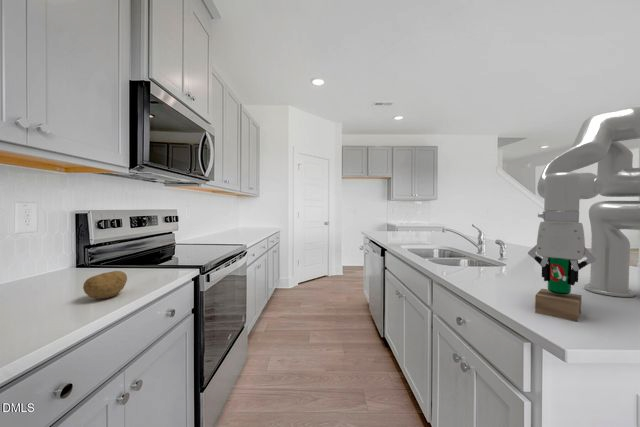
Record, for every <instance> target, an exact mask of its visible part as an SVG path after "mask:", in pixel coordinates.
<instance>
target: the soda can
mask: <svg viewBox="0 0 640 427" xmlns="http://www.w3.org/2000/svg"><path fill="white" fill-rule="evenodd" d="M547 264H548V281H547V289H548V290H549V291H550V292H553V293H557V294H569V293H571V292H572V285H570V275H571V270H572V268H573V267H572V264H571V261H570V260H566V259H560V258H549V259H548V263H547Z"/></svg>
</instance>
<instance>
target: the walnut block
mask: <svg viewBox="0 0 640 427" xmlns="http://www.w3.org/2000/svg"><path fill="white" fill-rule="evenodd" d="M582 296H583V295H582V294H576V293H571V292H570V293H569V294H557V293H553V292H550V291H549V290H548V288H547V289H546V288H541V289H540V290H539V291H537V293H536V294H535V300H534V303H535V305H534V313H535V314H540V315H546V316H549V317H554V318H558V319H564V320H568V321H572V322H579V319H580V317H581V314H582V301H583V298H582Z"/></svg>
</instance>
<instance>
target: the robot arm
mask: <svg viewBox="0 0 640 427" xmlns="http://www.w3.org/2000/svg"><path fill="white" fill-rule="evenodd" d="M637 139H640V107H639V106H634V107H627V108H622V109H616V110H610V111H607V112H601V113H597V114H594V115H591V116H589V117H587V118H586V119H585V120H584V121H583V122H582V125H581V127H580V128H579V131H578V132H577V135H576V138H575V140H574V142H573V144H572V146H571V147H570V148H568V149H567V150H565V151H563V152H562V153H560V154H559V155H557V156H556V157H555V158H552V160H551V161H549V162H548V163H547V164H546V165H545V166H544V169H543V171H542V172H541V175H540V177H539V179H538V182H537V187H536V188H537V193H538V195H539V197H541V198H542V199H544V200H543V201H544V208H543V209H544V210H543V211H542V212H538V213H537V217H538V218H541V219H543V221H540V222H539V225H538V231H537V238H536V244H535V245H534V246H533V247H532V248H531V249H530V250H529V251H528V252H527V255H529V256H530V257H531V258H532V259H533V260H535V261H536V262H537V263H538V264H539V266H541V278H543V281H544V282H548V259H549V258H560V259H566V260H570V261H571V264H572V270H571V275H570V285H571V286H575V284H576V283H579V271H580V270H582V269H583V268H585V267H587V266H588V265H590V273H589V274H590V276H589V277H590V278H589V279H590V280H589V283H586V284H584V285H583V288H584V290H586V291H588V292H591V293H595V294H599V295H606V296H610V297H620V298H633V297H635V296H636V292H635V291H634V290H632V289H630V288H629V284H630V282H629V281H630V262H631V261H630V259H631V256H630V255H631V242H630V240H629V238H628V237H627V236H626V234H624V233H623V232H622V230H629V231H630V230H631V231H640V200H603V201H598V202H595V203H593V204H592V205H590V207H589V209H588V217H589V223H590V231H591V243H590V244H591V247H590V248H591V249H590V250H589V249H588V248H586V239H585V238H586V237H585V230H584V225H583V223H582V222H580V201H581V200H589V199H594V198H595V197H597V196H599V195H600V196H602V197H607V198H608V197H609V198H610V197H611V198H627V197H628V198H635V197H636V198H638V197H639V198H640V167H633V163H634V162H633V160H634V159H633V158H634V154H633V151H631V150H630V149H629V148H628V147H627V146H626V145H624V144H622V143H621V142H622V141H631V140H637ZM596 163H597V173H596V174H595V173H592V172H574V171H576V170H579V169H583V168H585V167H588V166H591V165H594V164H596ZM584 257H586V259H584V260H583V258H584ZM580 260H582V261H580ZM579 261H580V262H579Z"/></svg>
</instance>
